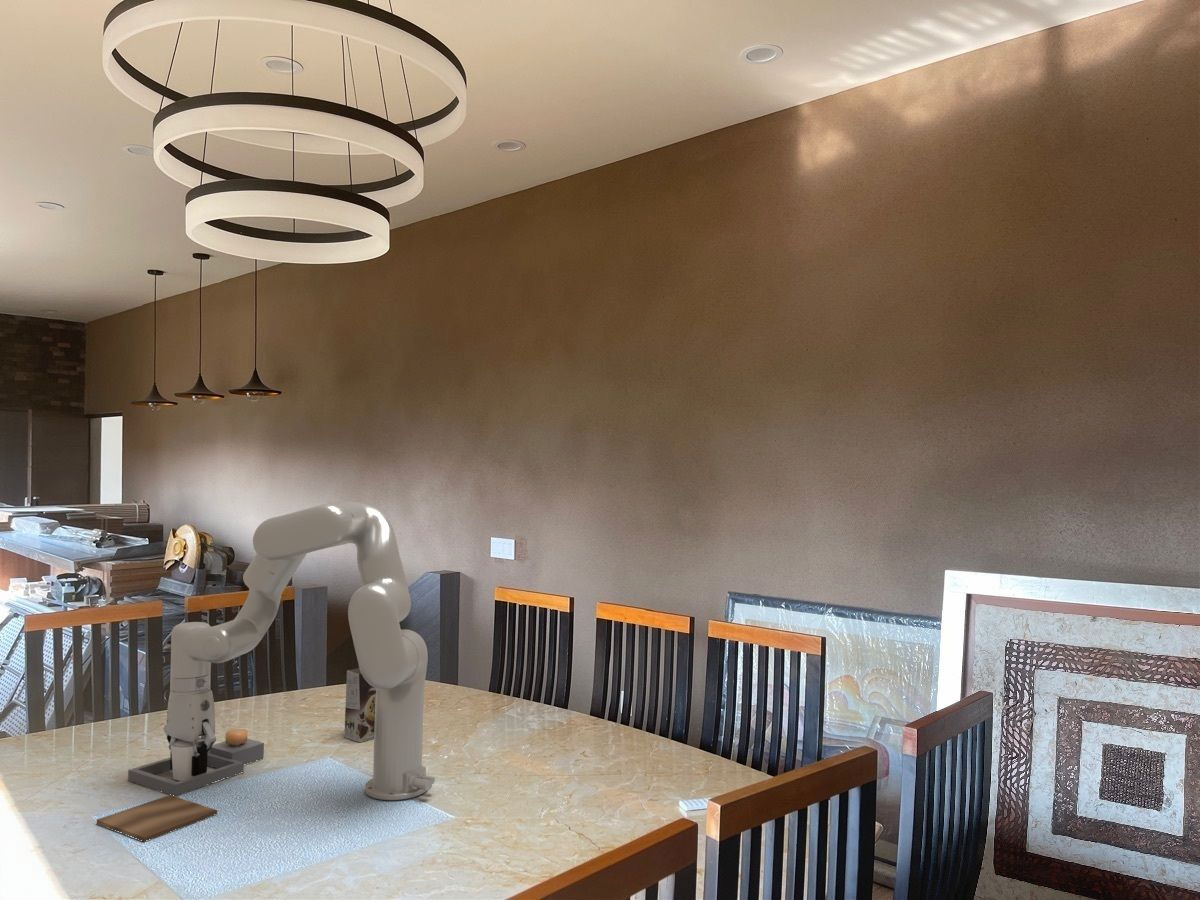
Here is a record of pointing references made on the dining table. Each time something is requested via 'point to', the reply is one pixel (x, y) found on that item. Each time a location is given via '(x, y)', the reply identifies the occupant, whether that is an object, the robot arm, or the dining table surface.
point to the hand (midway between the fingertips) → (188, 770)
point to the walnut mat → (156, 817)
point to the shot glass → (182, 759)
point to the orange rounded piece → (236, 737)
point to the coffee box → (359, 707)
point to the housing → (219, 756)
